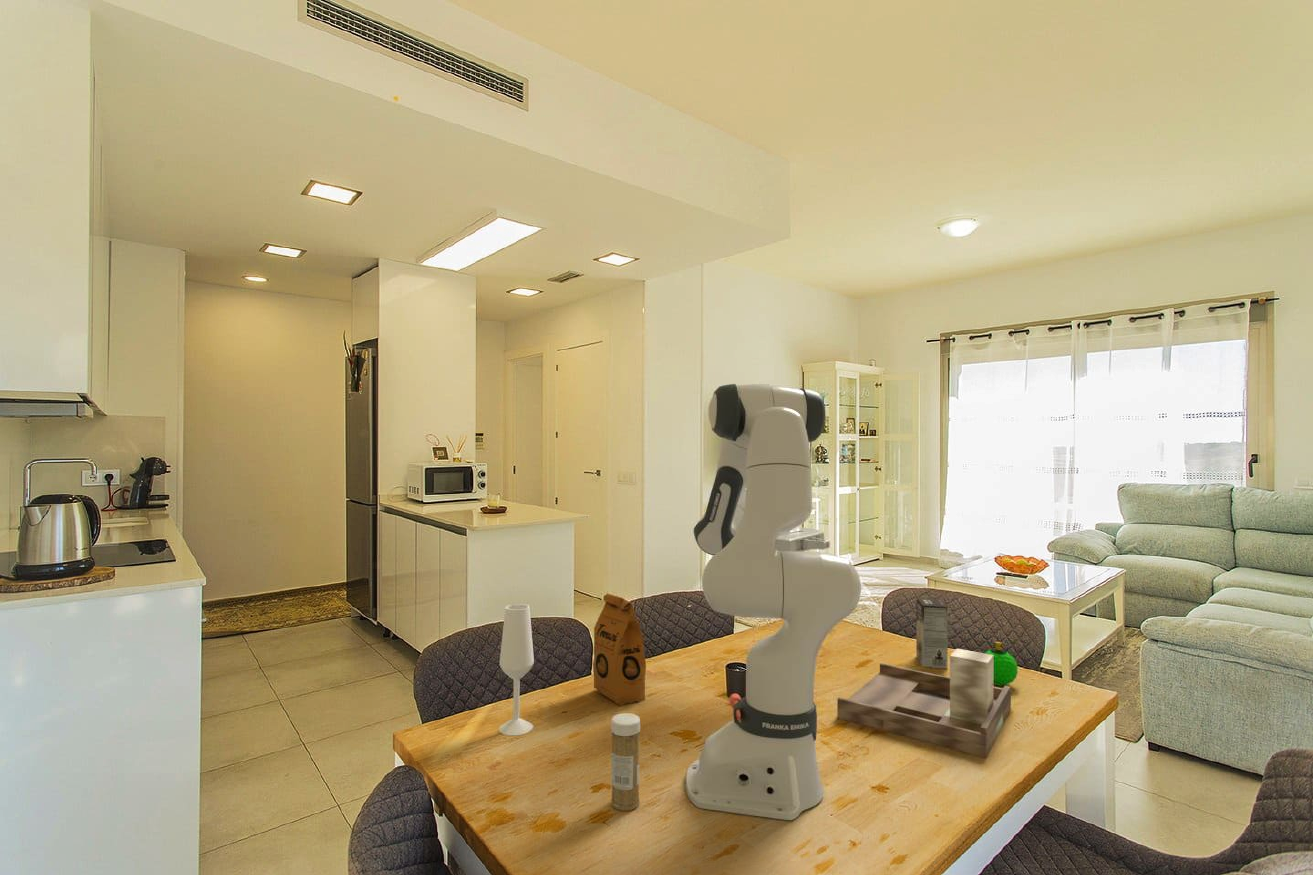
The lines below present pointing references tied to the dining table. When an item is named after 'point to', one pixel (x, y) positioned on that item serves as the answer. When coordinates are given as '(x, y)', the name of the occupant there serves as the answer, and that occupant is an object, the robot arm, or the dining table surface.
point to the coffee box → (932, 632)
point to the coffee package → (619, 652)
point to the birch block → (971, 684)
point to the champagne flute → (516, 659)
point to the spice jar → (625, 761)
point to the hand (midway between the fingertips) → (827, 545)
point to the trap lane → (923, 710)
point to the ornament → (1003, 666)
